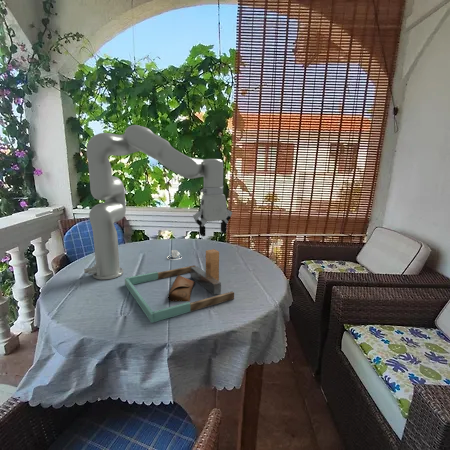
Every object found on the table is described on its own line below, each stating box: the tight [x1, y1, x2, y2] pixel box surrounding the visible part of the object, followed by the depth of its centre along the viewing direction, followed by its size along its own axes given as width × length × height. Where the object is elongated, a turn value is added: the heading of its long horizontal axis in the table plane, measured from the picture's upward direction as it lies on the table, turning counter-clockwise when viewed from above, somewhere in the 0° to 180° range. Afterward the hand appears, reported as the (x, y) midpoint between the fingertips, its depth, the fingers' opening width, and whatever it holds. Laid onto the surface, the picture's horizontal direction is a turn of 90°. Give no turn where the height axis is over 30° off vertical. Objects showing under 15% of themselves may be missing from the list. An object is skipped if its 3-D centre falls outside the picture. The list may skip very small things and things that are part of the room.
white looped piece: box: [166, 249, 183, 261], centre depth 150 cm, size 9×8×4 cm
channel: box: [157, 265, 235, 312], centre depth 115 cm, size 18×32×2 cm, turn 33°
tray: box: [124, 271, 191, 324], centre depth 106 cm, size 14×32×3 cm, turn 33°
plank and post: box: [190, 248, 222, 296], centre depth 118 cm, size 7×20×14 cm, turn 33°
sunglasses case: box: [167, 274, 196, 302], centre depth 112 cm, size 18×7×7 cm
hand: (213, 233), depth 115 cm, fingers open, 9 cm apart
